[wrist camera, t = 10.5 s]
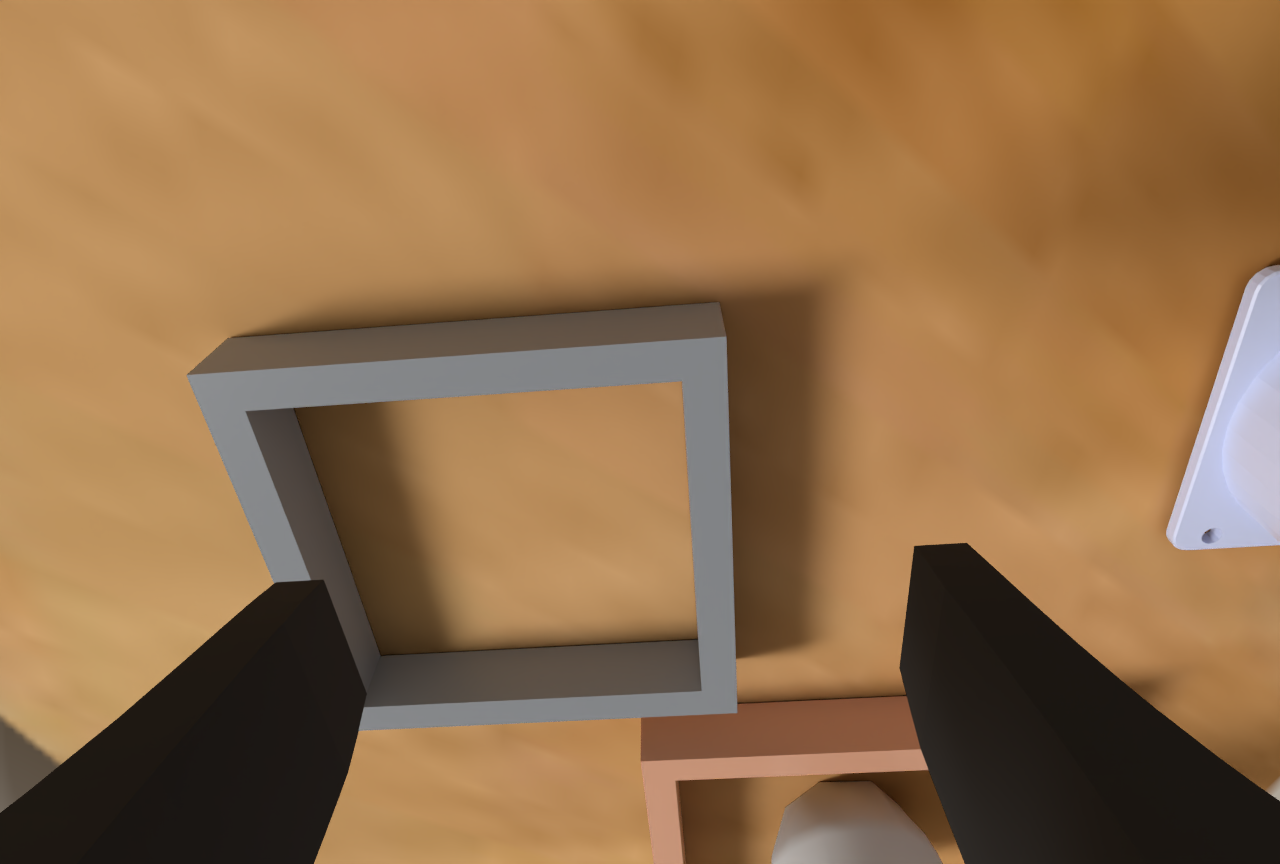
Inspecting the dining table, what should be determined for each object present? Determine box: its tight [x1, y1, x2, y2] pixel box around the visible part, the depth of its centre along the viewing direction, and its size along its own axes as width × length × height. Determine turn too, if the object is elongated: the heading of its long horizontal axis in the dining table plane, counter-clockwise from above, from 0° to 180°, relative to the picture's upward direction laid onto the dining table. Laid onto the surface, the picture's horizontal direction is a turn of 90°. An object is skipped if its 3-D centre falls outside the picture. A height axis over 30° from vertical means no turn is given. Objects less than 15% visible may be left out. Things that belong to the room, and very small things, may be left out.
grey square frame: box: [187, 302, 737, 731], centre depth 21 cm, size 12×12×2 cm
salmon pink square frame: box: [641, 696, 928, 864], centre depth 28 cm, size 14×14×2 cm
